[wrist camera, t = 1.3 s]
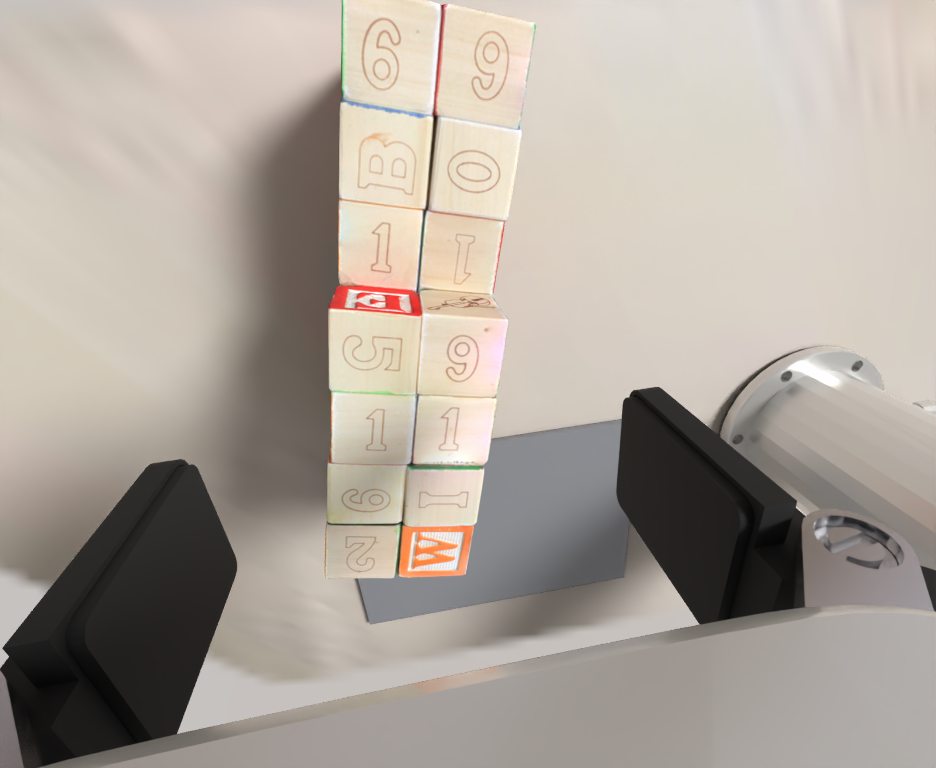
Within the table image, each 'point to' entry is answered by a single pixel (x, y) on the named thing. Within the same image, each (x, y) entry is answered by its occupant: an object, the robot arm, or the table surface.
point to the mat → (528, 526)
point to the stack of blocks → (418, 279)
